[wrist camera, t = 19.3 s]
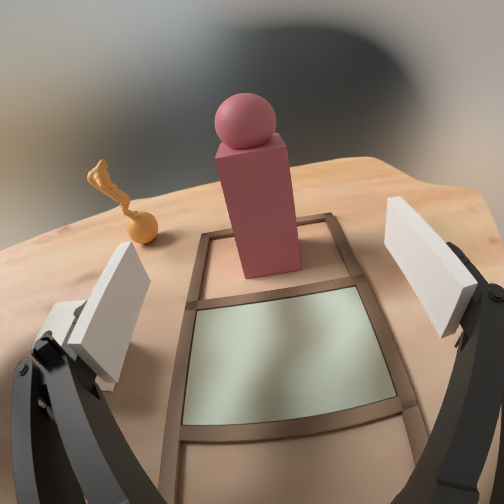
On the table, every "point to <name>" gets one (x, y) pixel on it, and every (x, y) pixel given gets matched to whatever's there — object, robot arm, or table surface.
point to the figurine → (124, 206)
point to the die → (66, 328)
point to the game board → (283, 364)
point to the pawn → (257, 186)
